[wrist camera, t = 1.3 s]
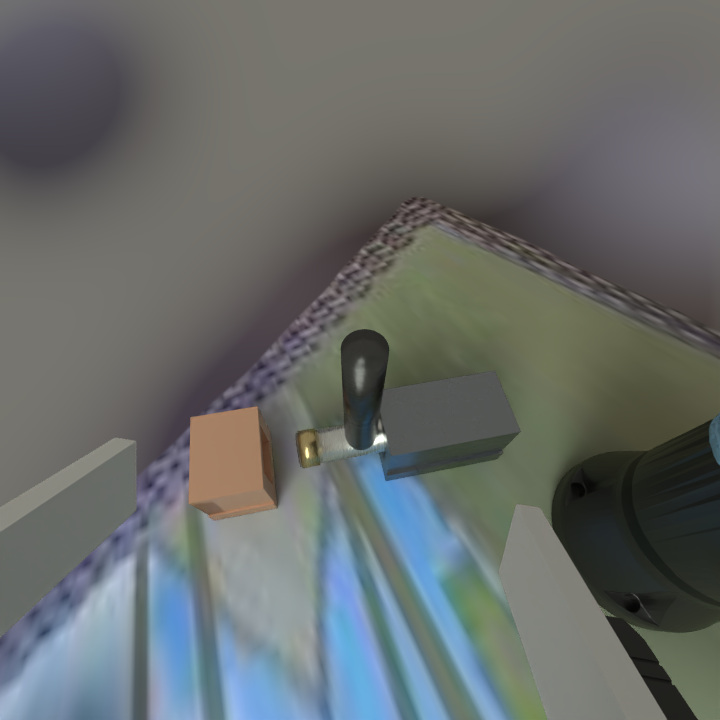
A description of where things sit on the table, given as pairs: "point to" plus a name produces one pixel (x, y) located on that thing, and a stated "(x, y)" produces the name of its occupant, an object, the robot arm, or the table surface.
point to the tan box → (231, 464)
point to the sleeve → (444, 424)
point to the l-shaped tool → (352, 405)
